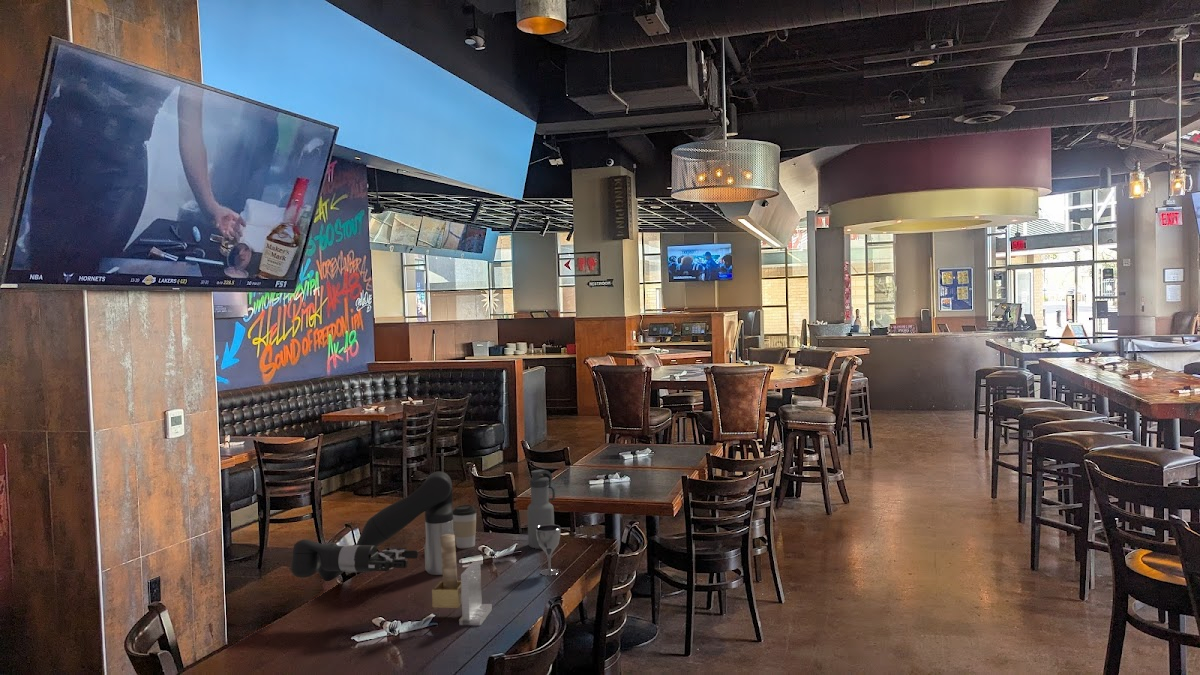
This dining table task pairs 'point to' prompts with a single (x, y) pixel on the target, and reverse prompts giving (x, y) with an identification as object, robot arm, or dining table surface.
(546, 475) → the water bottle
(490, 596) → the dining table surface
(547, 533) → the wine glass
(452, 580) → the rail post
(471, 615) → the cup bracket
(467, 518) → the coffee cup
